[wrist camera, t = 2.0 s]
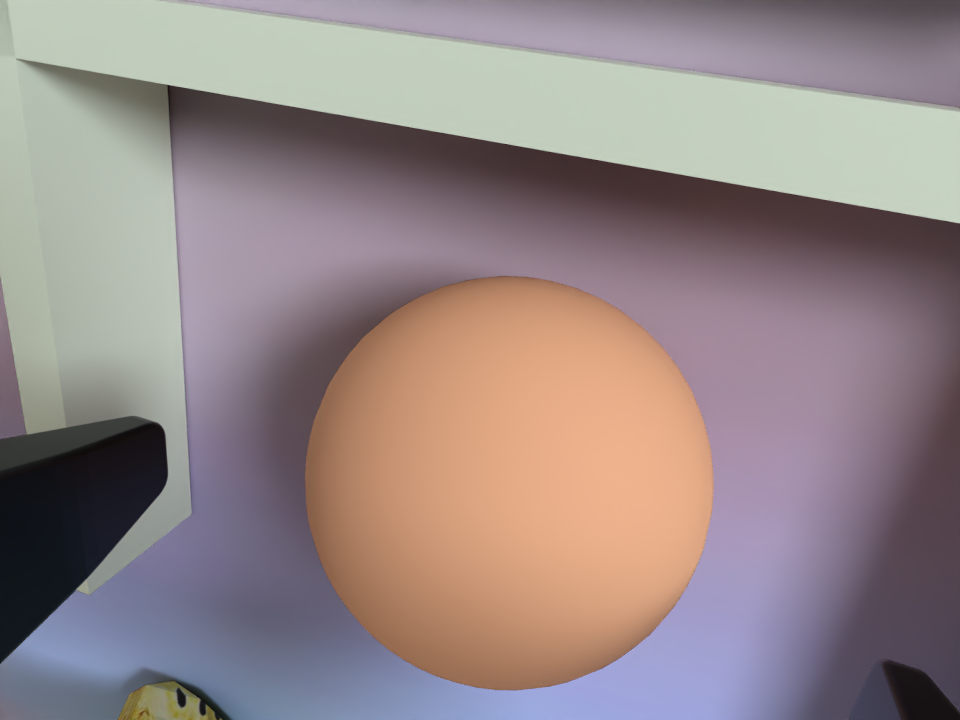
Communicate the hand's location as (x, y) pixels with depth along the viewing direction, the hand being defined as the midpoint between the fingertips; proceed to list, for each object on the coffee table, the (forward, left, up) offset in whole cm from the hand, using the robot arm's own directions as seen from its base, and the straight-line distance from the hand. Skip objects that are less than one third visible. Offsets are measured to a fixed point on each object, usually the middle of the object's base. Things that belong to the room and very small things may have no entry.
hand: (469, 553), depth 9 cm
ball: (0, 0, -2) cm, 2 cm away
